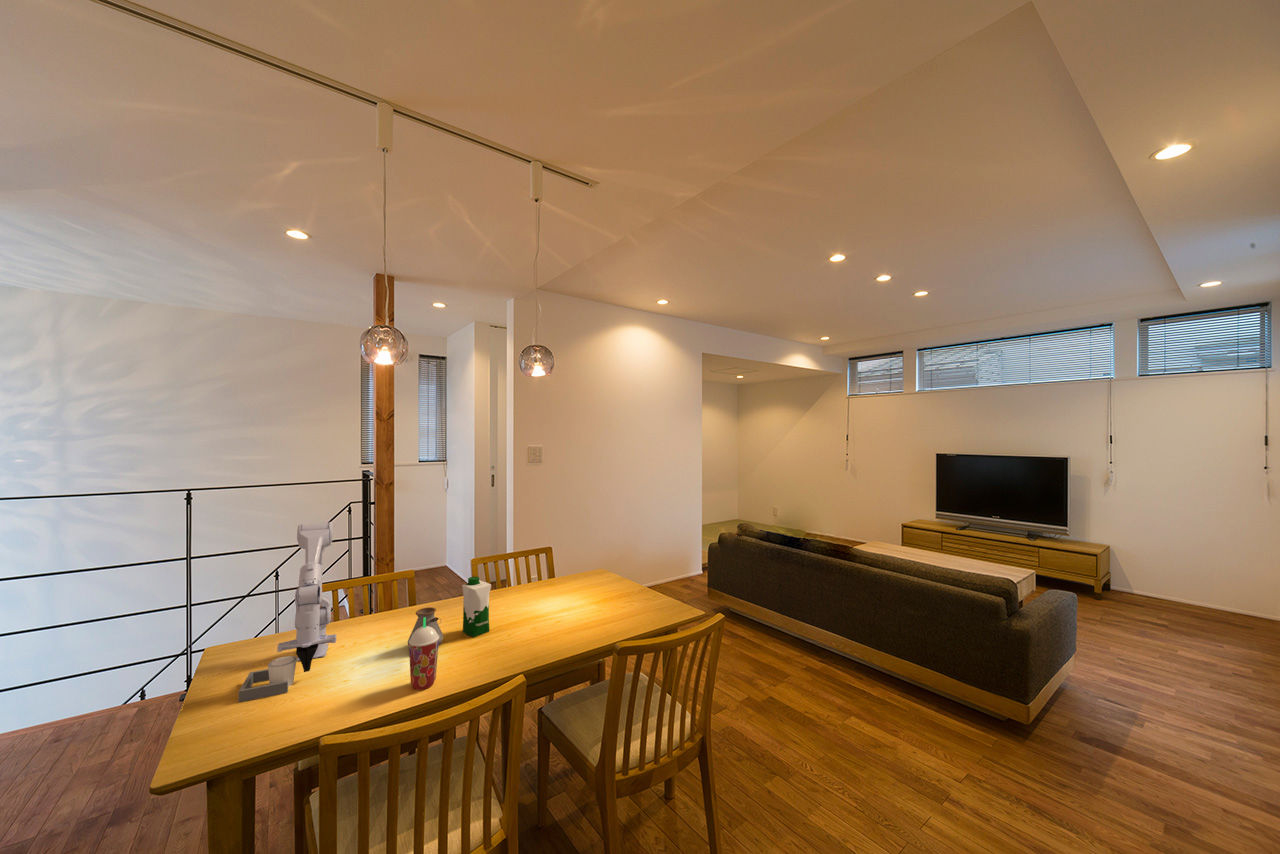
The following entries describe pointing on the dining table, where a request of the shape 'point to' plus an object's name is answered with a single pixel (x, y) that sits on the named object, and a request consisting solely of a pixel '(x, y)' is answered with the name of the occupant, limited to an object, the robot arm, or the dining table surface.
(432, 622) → the coffee pot
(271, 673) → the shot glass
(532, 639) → the dining table surface
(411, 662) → the smoothie
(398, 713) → the dining table surface
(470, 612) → the milk carton
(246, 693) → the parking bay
